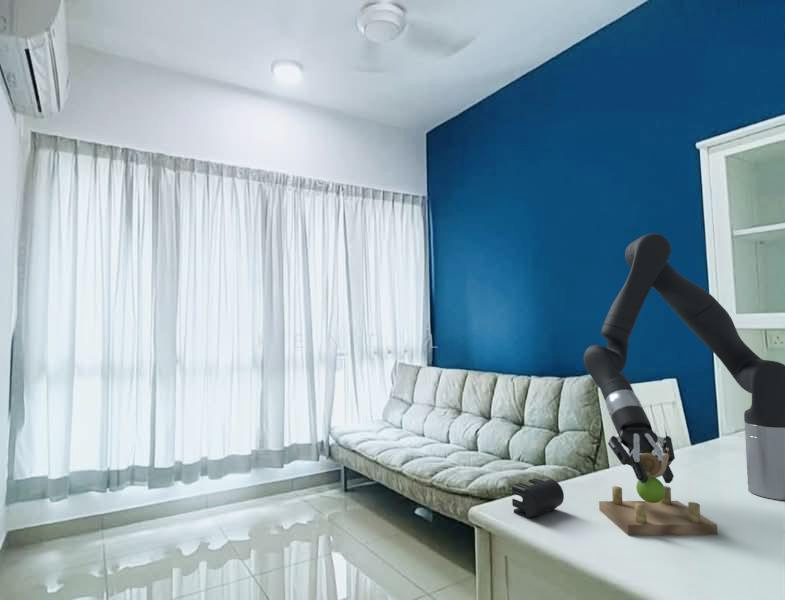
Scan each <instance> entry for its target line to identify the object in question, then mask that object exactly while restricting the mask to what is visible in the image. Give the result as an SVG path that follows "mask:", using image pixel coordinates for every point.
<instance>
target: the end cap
mask: <svg viewBox="0 0 785 600" xmlns="http://www.w3.org/2000/svg"><path fill="white" fill-rule="evenodd" d="M528 483H529V484H525V483H522V482H518V483H515V484H513V485H512V487H511V494H513V495H516V496H519V497H520V498H521V499H522V500H521V501H520V500H518V499H515V498H512V503H511V505H512V507H514V508H515V509H513V514H515V515H518V516H521V517H523V518H525V519H531V518H535V517H537V516H539V515H543V514H544V513H548V512H550V511H553V510H555V509H557V508H558V507H560V506H561V505H562V504H563V502H564V499H565V498H564V497H565V496H564V495H565V493H564V490H563V488H562V486H561V485H560V483H558V481H556V480H555V479H553V478H551V479H547V480H543V479H539V478H537V477H534V478H532V479H531V478H530V479H529V480H528Z"/></svg>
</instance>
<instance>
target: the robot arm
mask: <svg viewBox="0 0 785 600" xmlns="http://www.w3.org/2000/svg"><path fill="white" fill-rule="evenodd" d="M671 253H672V245H671V244H670V241H669V240H668V239H667V238H666V237H665V236H664V235H662V234H659V233H648V234H645V235H642V236H640V237H639V238H637V239H634V240H633V241H632V242H631V243H629V245H627V247H626V249H625V252H624V258H625V261H626V263H627V265H628V266H629V267H630V272H629V274H628V276H627V279H626V280H625V282H624V285H623V286H622V288H621V290H620V291H619V293H618V294H617V296H616V298H615V299H614V300H613V302H612V305H611V306H610V309H609V311H608V313H607V315H606V317H605V320H604V322H603V325H602V327H601V331H600V334H601V336H602V338H604V339H605V340H606V342H607V343H606V346H604V345H600V344H593V345H590V346H588V347H587V348H586V350H585V351H584V353H583V364H584V366H585V367H584V368H585V369H586V370H587V373H588V374H589V375H590V377H591V378H592V380H593V382H594V383H595V384H596V385H597V386H598V387H599V389H600V392H601V394H602V396H603V399H604V401H605V404H606V409H607V411H608V415H609V416H610V417H609V418H610V419H611V421H612V424H613V426H614V429H615V431H616V433H617V435H618V436H615V435H612V436H611V437H610V439H609V441H608V442H607V444H608V446H609V447H610V449H611V450H612V451H613V453H614V455H615V456H616V457H617V459H618V461H619V462H620V464H622V465H623V466H626V465H627V466H630V467H631V468H632V469H633V472H634V474H635V477H636V479H637V481H639V480H640V482H641V483H646V482H647V480H648V477H647V474H646V472H645V470H644V468H643V465H642V463H639V461H640V458H639V455H641V454H643V453H650V454H653V455H654V456H656V457H657V458H658V460H659V461H660V465H661V462H662V454H663V453H667V454H668V455H669V459H668V464H667V467H666V470H665V472H664V474H663V475H662V476H661V477H662V478H663V480H664V482H665V484H670V483H671V482H672V481H673V479H674V477H675V476H674V473H673V471H672V469H671V467H670V466H671V464H672V463H673V461H674V460H675V459H676V456H675V453H674V452H675V451H674V446H673V443H672V442H673V441H672V438H671V436H670V435H665V437H662V436H658V435H657V434H656V433H655V432H654V430H653V428H652V424H651V422H650V420H649V417H648V416H647V414H646V412H645V409H644V407H643V406H642V403H641V401H640V399H639V398H638V396H637V395H636V393H635V392H634V388H632V385H631V383H630V381H629V379H628V378H627V377H626V376H625V375H624V374H622V373H623V371H624V369H625V368H626V367H625V366H626V364H627V358H628V350H629V339H630V336H631V334H632V332H633V329H634V328H635V325H636V322H637V319H638V316H639V315H640V312H641V310H642V307H643V306H644V303H645V300H646V299H647V296H648V295H649V293H650V290H651V289H652V288H653V289H654V290H655V291H656V292H657V293H658V294H659V295H660V296H661V298H662V299H663V300H664V301H665V302H666V303H667V305H669V307H670V308H671V309H672V310H673V311H674V313H675V314H677V316H678V317H679V318H680V320H681V321H682V322H683V323H684V324H685V325H686V326H687V327H688V328H689V329H690V331H692V332H693V333H694V334H695V335H696V336H697V338H699V339H700V341H702V342H703V344H705V346H706V347H708V349H709V350H710V351H711V352H712V353H714V354H715V356H716V357H717V358H718V359H719V360H720V361H721V363H722V364H723V365H724V367H725V368H726V369H727V371H728V373H730V375H731V376H732V378H733V379H734V380H735V382H736V383H737V384H738V385H739V387H741V389H742V390H744V391H746V392H747V393H750V394H751V406H750V408H748V409H746V410H745V411H744V414H743V417H744V418H743V420H744V421H743V422H744V436H745V439H744V440H745V453H746V455H745V456H746V457H745V458H746V472H747V473H746V474H747V475H746V476H747V486H748V487H747V490H748V492H750V494H754V495H756V496H760V497H762V498H768V499H772V500H779V501H785V364H783V363H781V362H779V361H775V360H770V359H769V360H767V359H762V358H761V357H760V356H759V355H757V353H755V352H754V351H753V350H752V349H751V348H750V347H749V346H747V344H746V343H745V342H744V341H743V340H742V338H741V336H740V335H739V333H738V331H737V328H736V325H735V324H734V321H733V318H732V317H731V315H730V314H729V312H728V311H727V310H726V309H725V308H724V307H723V306H722V304H720V302H719V301H718V300H716V298H715V297H714V296H713V295H712V294H711V293H710V292H708V291H707V290H705V289H704V288H703V287H700V285H697V284H696V283H694V282H693V281H691V280H689V279H687V278H686V277H684V276H682V275H681V274H680V273H679V272H677V271H676V269H674V267H673V266H672V265H671V263H669V262H668V261H669V259H670V256H671ZM658 444H659V445H658ZM624 446H625V447H626V448H627V450H628V451H627V450H626V449H625V448H624ZM666 448H669V451H666Z"/></svg>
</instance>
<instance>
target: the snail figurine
mask: <svg viewBox="0 0 785 600" xmlns="http://www.w3.org/2000/svg"><path fill="white" fill-rule="evenodd" d="M666 451H669V448H666ZM662 453H663V452H662ZM639 458H640V461H639V463H642V465H643V468H644V470H645V472H646V474H647V477H648V480H647V482H646V483H641V482H640V480H637V483H636V486H635V487H636V492H637V494H638V496H639V497H640V498H641V499H642V501H647V502H649V503H657V502H660V501H661V500H662V499H663V498H664V496H665V488H664V486H665V485H664V484H663V483H662V482H661V480H659V479H658V478H660V477H663V476H662V475H663V474H664V472H665V470H666V467H667V464H668V459H669V455H668V454H667V453H663V454H662V462H661V465H660V461H659V460H658V458H657V457H656V456H654V455H653V454H650V453H641V454H639Z"/></svg>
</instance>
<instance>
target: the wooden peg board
mask: <svg viewBox="0 0 785 600" xmlns="http://www.w3.org/2000/svg"><path fill="white" fill-rule="evenodd" d="M663 486H664V488H665V496H664V498H663V499H662V500H661V501H660V502H657V503H649V502H647V501H645V500H623V488H622V487H621V486H617V485H616V486H612V487H611V488H612V489H611V491H612V493H611V494H612V500H611V501H610V500H609V501H608V500H606V501H605V500H603V501H602V500H601V501H600V500H599V502H598V503H599V504H598V505H599V510H598V511H600V513H602V514H603V515H604V516H605V517H606V518H608V519H609V520H610V521H611V522H612V523H614V524H615V525H616V526H617V527H618V528H619V529H620V530H621V531H623V532H624V533H625V534H626V535H627V536H701V535H702V536H706V535H708V536H709V535H711V536H716V535H718V524H717V523H715V522H714V521H713V520H710V519H708V518H707V517H705V516H704V515H702V514H701V505H700V504H699V503H697V502H695V501H690V502H688V503H687V504H688V505H685V504H684V503H682V502H680V501H679V500H672V492H671V490H672V487H670V486H667V485H663Z"/></svg>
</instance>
